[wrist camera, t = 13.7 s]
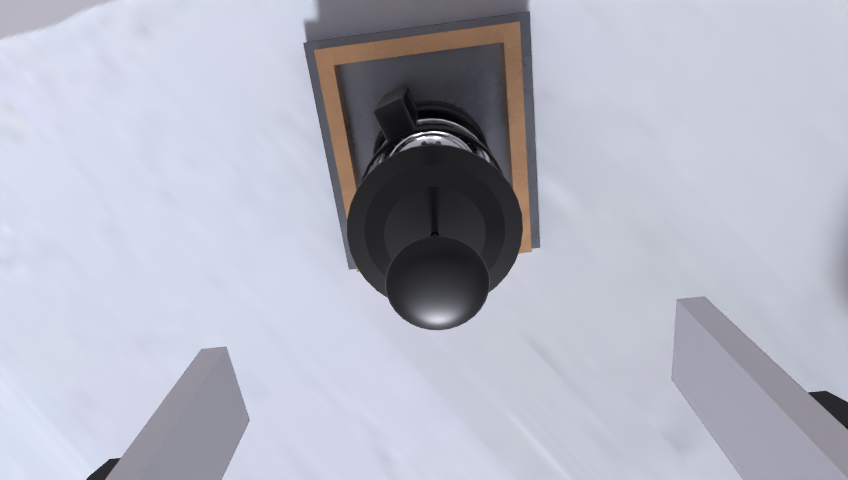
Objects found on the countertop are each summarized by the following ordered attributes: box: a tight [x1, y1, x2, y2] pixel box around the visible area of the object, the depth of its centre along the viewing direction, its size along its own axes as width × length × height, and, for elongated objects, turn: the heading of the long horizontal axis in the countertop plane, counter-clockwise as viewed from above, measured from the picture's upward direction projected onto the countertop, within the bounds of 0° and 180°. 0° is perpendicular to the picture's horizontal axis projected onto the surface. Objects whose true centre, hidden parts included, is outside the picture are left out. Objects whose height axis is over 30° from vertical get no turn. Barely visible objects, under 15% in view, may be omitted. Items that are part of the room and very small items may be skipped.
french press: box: [347, 85, 523, 330], centre depth 30 cm, size 12×9×23 cm
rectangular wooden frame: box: [303, 12, 540, 272], centre depth 41 cm, size 17×19×3 cm
